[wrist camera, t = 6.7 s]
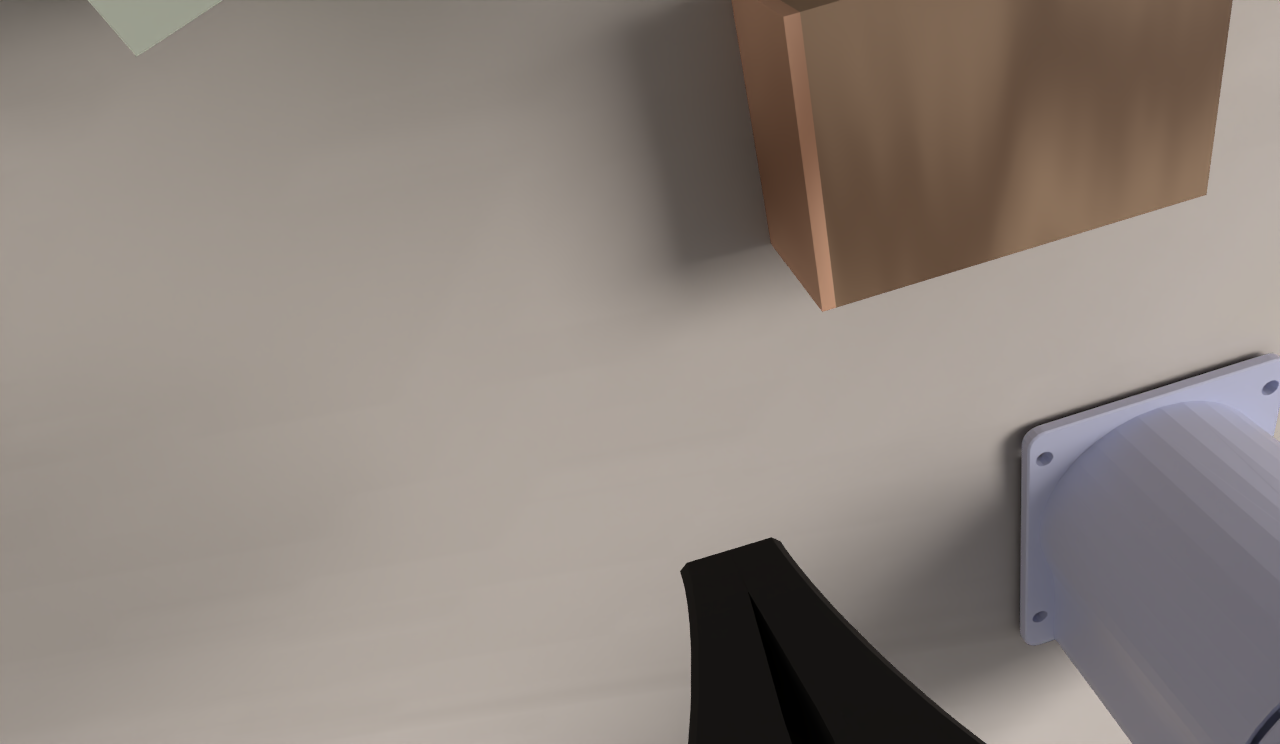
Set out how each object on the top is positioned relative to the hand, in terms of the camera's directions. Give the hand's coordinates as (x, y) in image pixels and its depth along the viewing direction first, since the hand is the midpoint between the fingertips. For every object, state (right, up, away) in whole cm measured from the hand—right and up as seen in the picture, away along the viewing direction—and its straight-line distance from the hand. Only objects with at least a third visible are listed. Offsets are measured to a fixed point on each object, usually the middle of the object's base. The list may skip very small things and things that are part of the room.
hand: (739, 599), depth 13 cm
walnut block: (+1, +8, +6) cm, 10 cm away
